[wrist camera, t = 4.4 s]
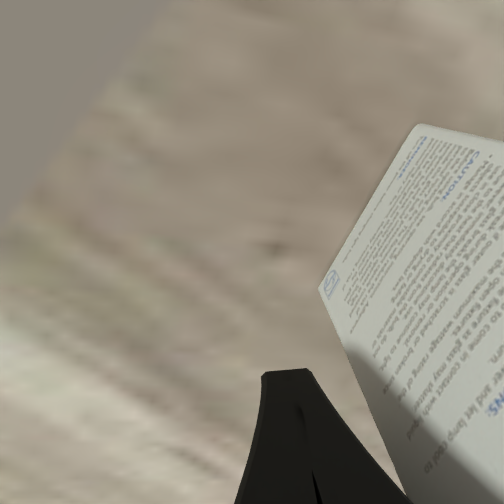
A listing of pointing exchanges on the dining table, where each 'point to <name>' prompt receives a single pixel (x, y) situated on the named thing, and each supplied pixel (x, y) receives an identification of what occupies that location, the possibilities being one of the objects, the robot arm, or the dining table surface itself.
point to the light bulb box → (431, 314)
